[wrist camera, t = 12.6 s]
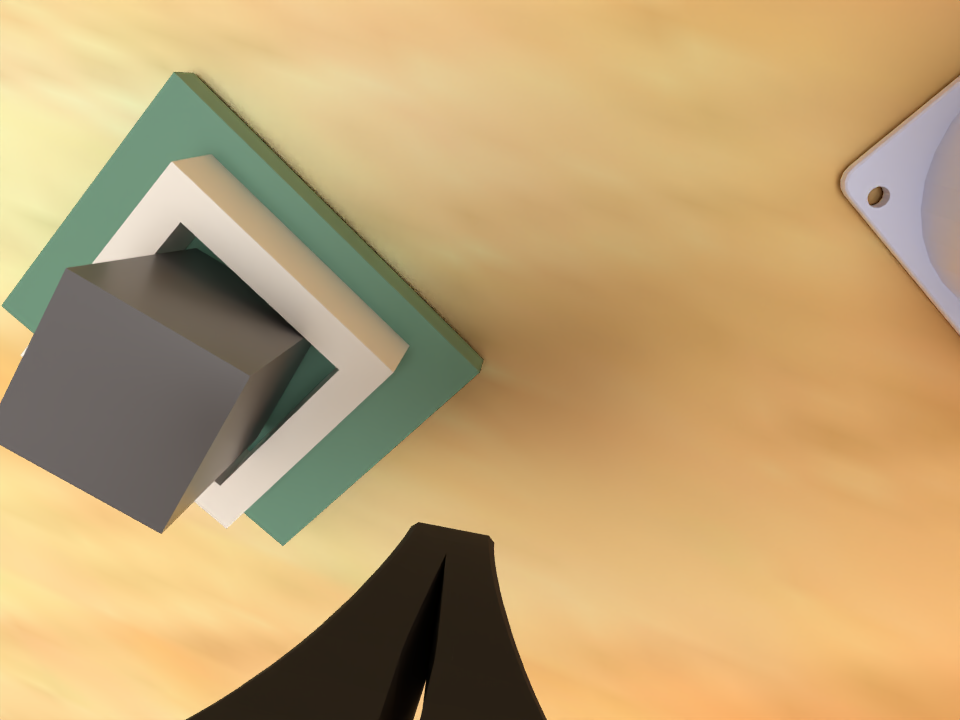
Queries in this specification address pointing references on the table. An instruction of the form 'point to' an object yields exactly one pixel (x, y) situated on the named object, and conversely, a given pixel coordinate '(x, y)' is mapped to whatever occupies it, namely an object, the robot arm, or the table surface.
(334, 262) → the board
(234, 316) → the plug
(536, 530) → the table surface
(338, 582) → the table surface
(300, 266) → the frame
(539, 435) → the table surface
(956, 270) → the robot arm
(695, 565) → the table surface
